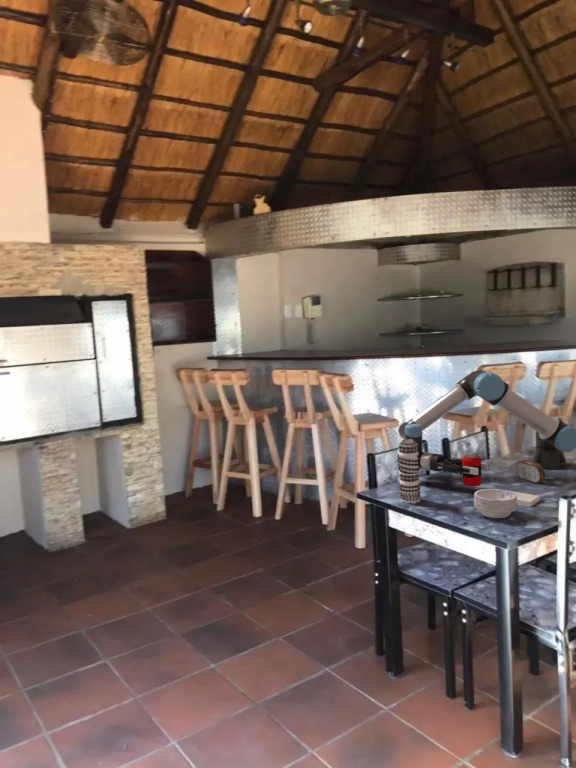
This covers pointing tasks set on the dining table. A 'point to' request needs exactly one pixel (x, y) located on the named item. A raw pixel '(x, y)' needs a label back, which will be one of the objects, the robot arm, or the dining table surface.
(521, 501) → the block
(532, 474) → the tin
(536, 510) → the dining table surface
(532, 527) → the dining table surface
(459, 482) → the dining table surface
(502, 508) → the paper bowls
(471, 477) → the soda can
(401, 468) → the decorative candle
